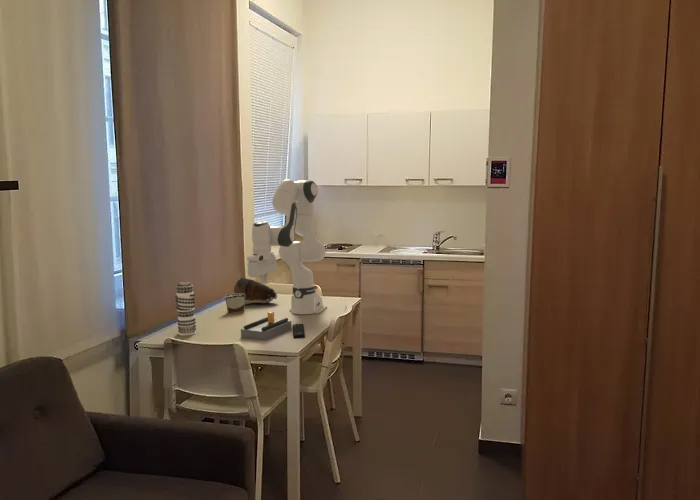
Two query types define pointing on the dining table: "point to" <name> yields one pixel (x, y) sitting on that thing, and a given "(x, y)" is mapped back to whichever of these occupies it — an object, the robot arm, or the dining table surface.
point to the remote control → (298, 331)
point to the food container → (235, 302)
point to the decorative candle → (185, 308)
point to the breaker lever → (270, 317)
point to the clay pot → (254, 291)
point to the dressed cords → (265, 326)
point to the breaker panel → (258, 334)
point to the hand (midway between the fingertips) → (263, 282)
